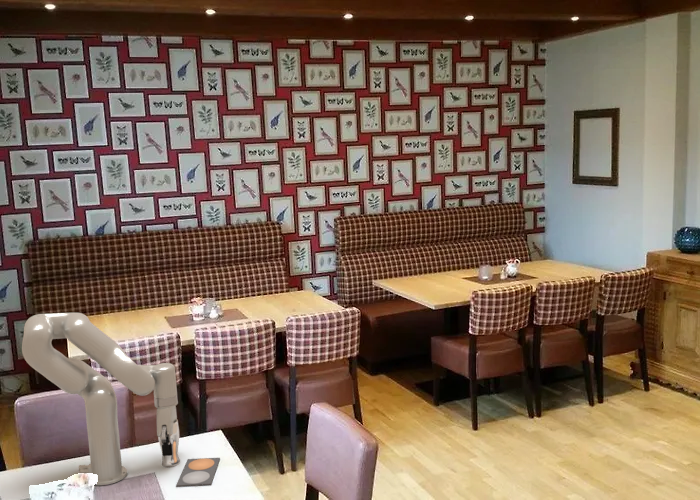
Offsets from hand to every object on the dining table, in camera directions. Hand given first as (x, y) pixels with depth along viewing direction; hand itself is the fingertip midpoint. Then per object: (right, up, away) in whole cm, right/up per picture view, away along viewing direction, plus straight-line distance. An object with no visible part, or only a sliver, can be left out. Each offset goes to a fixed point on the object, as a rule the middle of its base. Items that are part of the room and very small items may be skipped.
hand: (169, 450), depth 242 cm
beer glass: (0, -5, +1) cm, 5 cm away
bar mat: (+11, -5, -7) cm, 14 cm away
